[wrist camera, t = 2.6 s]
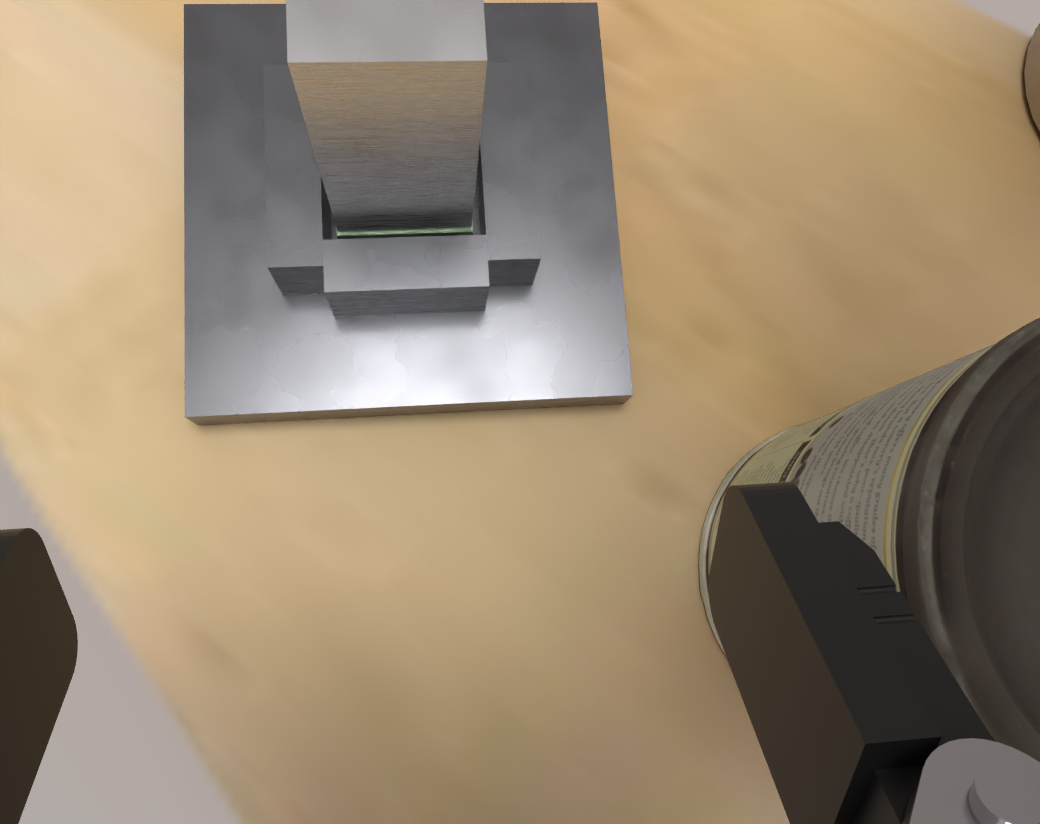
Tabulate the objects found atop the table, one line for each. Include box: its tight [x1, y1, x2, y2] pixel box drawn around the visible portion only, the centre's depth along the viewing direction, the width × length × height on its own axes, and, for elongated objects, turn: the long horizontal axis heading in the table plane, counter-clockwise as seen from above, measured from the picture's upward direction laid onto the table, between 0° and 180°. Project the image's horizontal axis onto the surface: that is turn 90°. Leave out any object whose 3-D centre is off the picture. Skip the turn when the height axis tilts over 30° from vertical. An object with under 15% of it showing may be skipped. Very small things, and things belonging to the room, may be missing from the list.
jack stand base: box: [184, 3, 633, 425], centre depth 26 cm, size 14×14×8 cm
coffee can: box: [699, 318, 1040, 762], centre depth 23 cm, size 10×10×14 cm
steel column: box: [286, 0, 487, 239], centre depth 23 cm, size 4×4×11 cm
